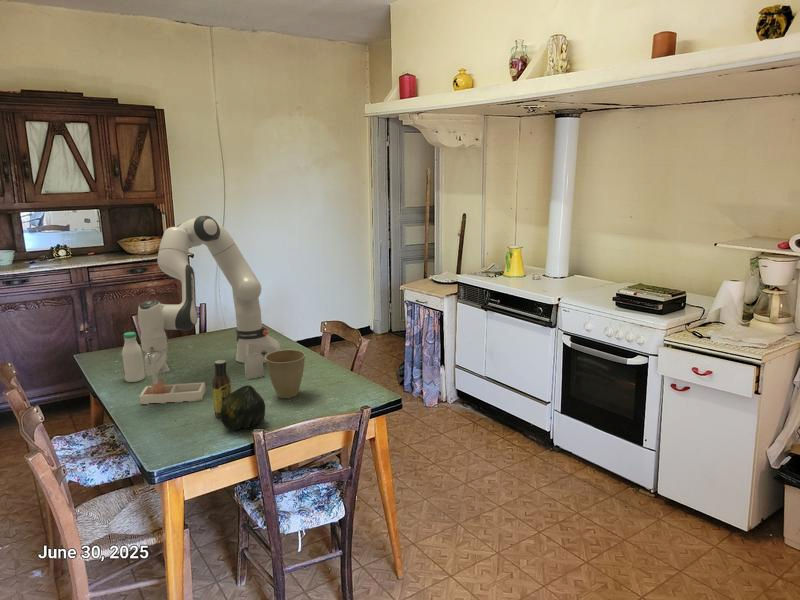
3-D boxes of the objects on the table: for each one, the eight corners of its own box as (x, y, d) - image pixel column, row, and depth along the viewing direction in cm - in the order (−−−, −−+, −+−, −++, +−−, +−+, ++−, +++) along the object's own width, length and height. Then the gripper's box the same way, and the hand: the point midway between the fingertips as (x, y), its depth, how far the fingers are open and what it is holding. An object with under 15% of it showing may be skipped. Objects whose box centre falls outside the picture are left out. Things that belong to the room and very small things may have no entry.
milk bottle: (149, 377, 255) (143, 331, 250) (134, 383, 248) (128, 336, 243) (135, 374, 258) (130, 329, 253) (120, 381, 251) (114, 334, 246)
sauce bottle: (225, 419, 213) (220, 365, 208) (211, 417, 215) (205, 363, 210) (236, 412, 218) (232, 359, 214) (222, 410, 221) (217, 357, 216)
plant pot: (262, 392, 236) (259, 353, 232) (298, 385, 243) (296, 347, 240) (275, 406, 224) (272, 364, 220) (313, 397, 231) (310, 357, 227)
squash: (206, 412, 206) (225, 385, 199) (239, 398, 218) (258, 373, 211) (229, 445, 202) (249, 419, 195) (261, 429, 215) (281, 405, 207)
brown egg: (165, 393, 234) (164, 378, 233) (163, 397, 230) (161, 382, 229) (154, 394, 234) (153, 379, 232) (152, 398, 230) (150, 383, 228)
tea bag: (263, 376, 254) (262, 353, 251) (247, 379, 250) (246, 356, 248) (260, 374, 257) (259, 351, 254) (245, 377, 253) (243, 354, 251)
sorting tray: (205, 390, 239) (204, 382, 238) (201, 400, 230) (200, 391, 229) (146, 394, 236) (145, 386, 235) (140, 405, 226) (139, 396, 225)
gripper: (157, 351, 217) (161, 388, 221) (168, 335, 237) (172, 369, 240) (138, 353, 216) (143, 389, 220) (151, 336, 236) (155, 370, 239)
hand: (158, 378), depth 230 cm, fingers open, 8 cm apart
